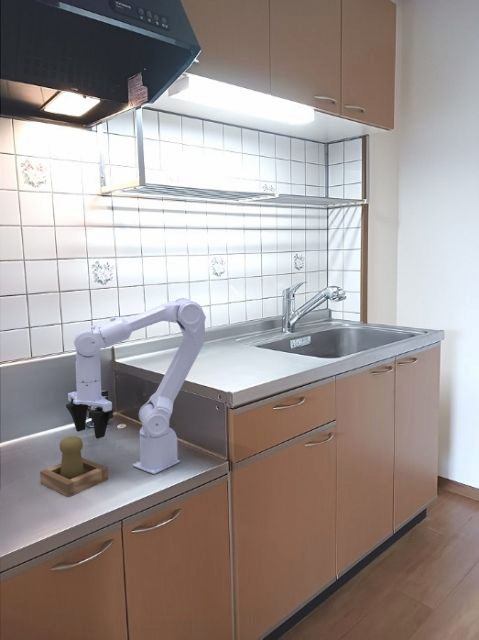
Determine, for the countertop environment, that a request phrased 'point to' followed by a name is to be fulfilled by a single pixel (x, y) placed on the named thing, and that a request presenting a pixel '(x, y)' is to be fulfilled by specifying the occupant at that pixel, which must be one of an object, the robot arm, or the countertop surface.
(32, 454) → the countertop surface
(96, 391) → the robot arm
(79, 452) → the olive rounded peg
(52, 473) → the socket block
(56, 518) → the countertop surface
